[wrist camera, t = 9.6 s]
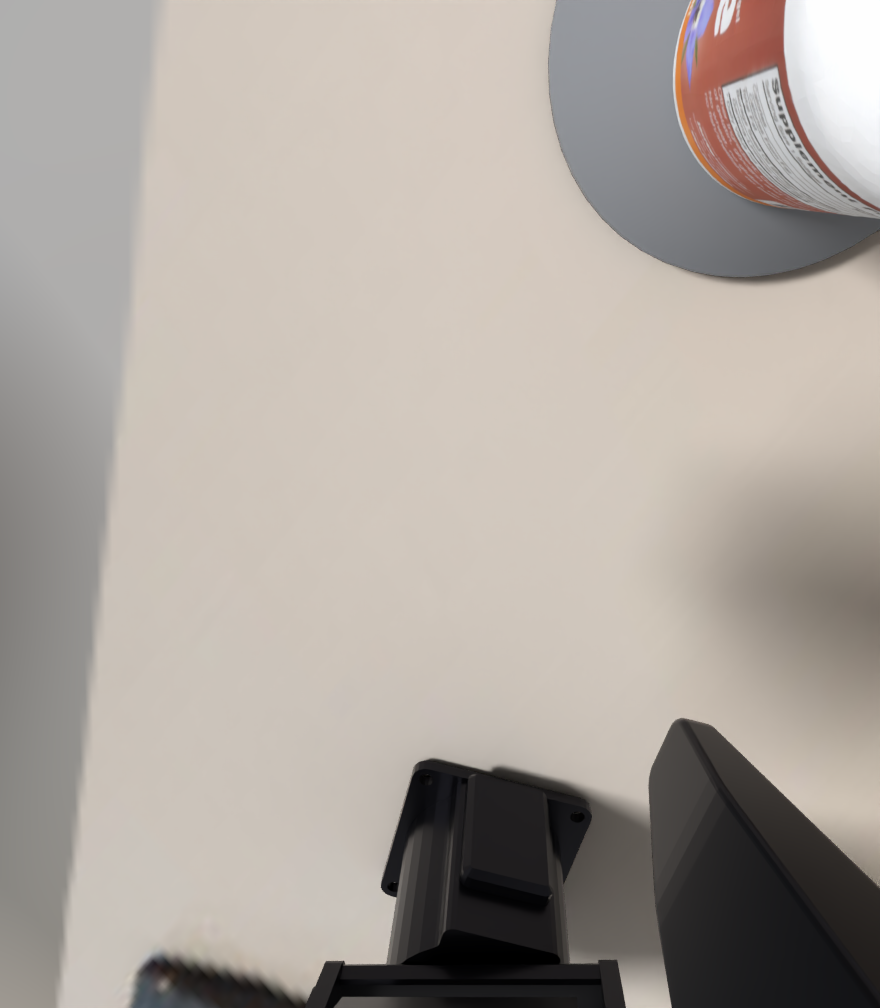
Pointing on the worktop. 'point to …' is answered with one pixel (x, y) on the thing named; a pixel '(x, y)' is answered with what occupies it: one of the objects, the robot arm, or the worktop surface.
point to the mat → (663, 150)
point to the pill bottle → (784, 100)
